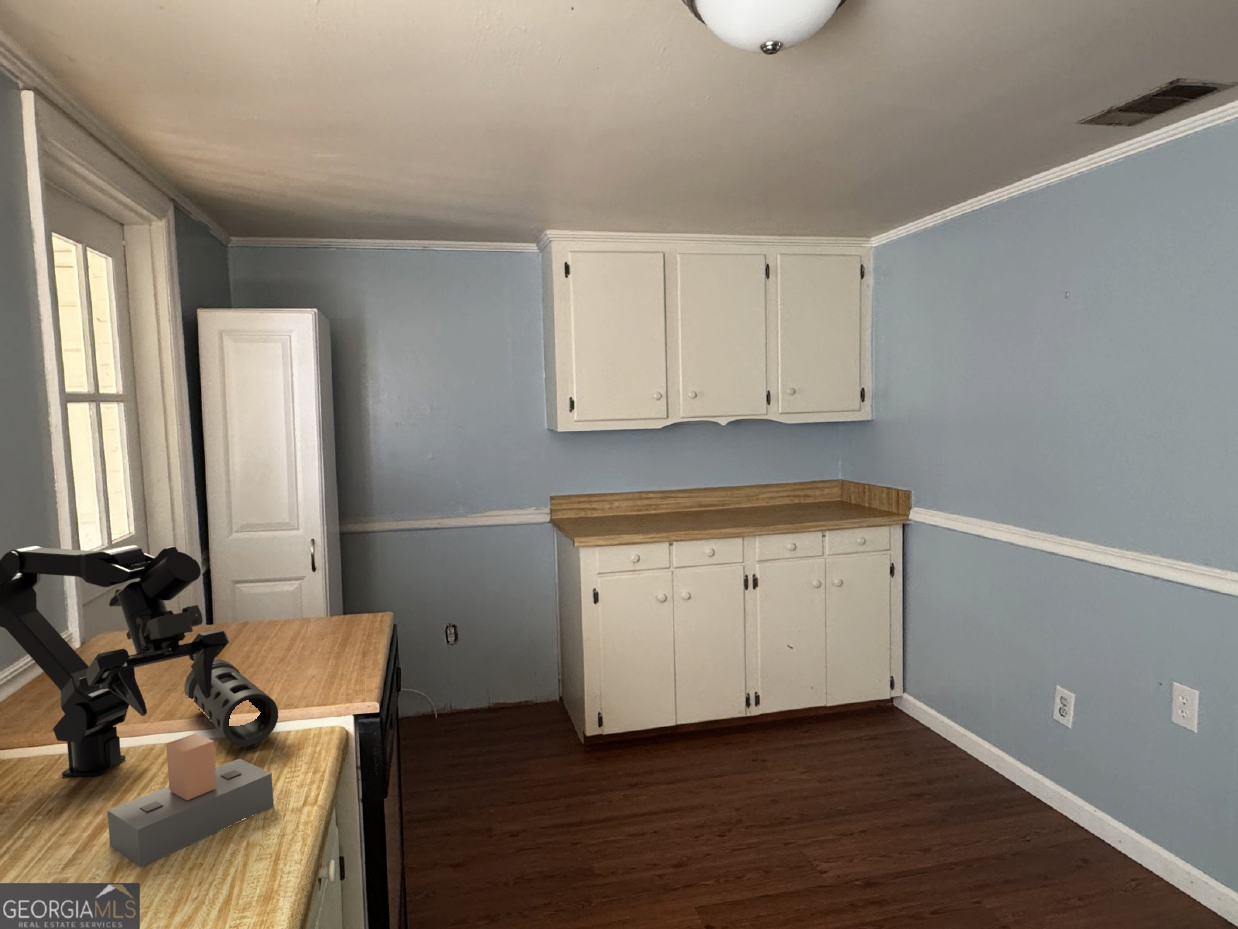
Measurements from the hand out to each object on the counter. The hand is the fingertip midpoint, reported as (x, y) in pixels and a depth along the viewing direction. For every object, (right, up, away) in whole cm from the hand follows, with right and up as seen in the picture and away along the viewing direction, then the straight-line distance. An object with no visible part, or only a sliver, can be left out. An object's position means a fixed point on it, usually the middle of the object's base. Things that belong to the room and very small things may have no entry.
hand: (177, 705), depth 116 cm
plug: (+8, -14, -9) cm, 18 cm away
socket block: (+8, -14, -9) cm, 18 cm away
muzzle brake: (-5, -12, +26) cm, 29 cm away
